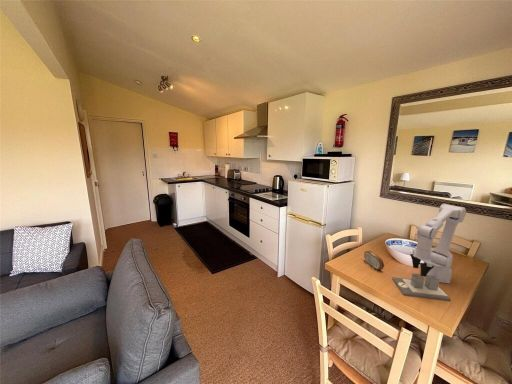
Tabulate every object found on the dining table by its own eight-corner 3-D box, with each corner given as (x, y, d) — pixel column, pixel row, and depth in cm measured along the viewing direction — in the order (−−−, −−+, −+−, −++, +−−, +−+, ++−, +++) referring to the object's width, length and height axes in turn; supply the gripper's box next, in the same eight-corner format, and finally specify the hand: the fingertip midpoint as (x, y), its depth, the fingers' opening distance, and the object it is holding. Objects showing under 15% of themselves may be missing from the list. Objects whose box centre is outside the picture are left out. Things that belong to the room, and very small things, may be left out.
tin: (383, 272, 130) (385, 259, 129) (378, 272, 130) (380, 260, 128) (366, 259, 145) (368, 248, 143) (362, 260, 144) (364, 248, 143)
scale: (433, 283, 120) (433, 280, 119) (450, 301, 106) (450, 297, 106) (392, 279, 124) (392, 276, 123) (403, 295, 110) (404, 292, 110)
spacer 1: (418, 284, 116) (420, 274, 115) (422, 288, 113) (424, 278, 111) (410, 283, 117) (412, 273, 116) (414, 287, 113) (416, 277, 112)
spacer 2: (432, 285, 115) (434, 275, 114) (437, 290, 111) (439, 280, 110) (424, 284, 116) (426, 274, 115) (428, 289, 112) (430, 279, 111)
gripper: (408, 241, 118) (404, 263, 121) (423, 254, 104) (418, 278, 107) (422, 242, 117) (418, 265, 120) (439, 255, 103) (434, 280, 106)
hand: (419, 271), depth 113 cm, fingers open, 7 cm apart
